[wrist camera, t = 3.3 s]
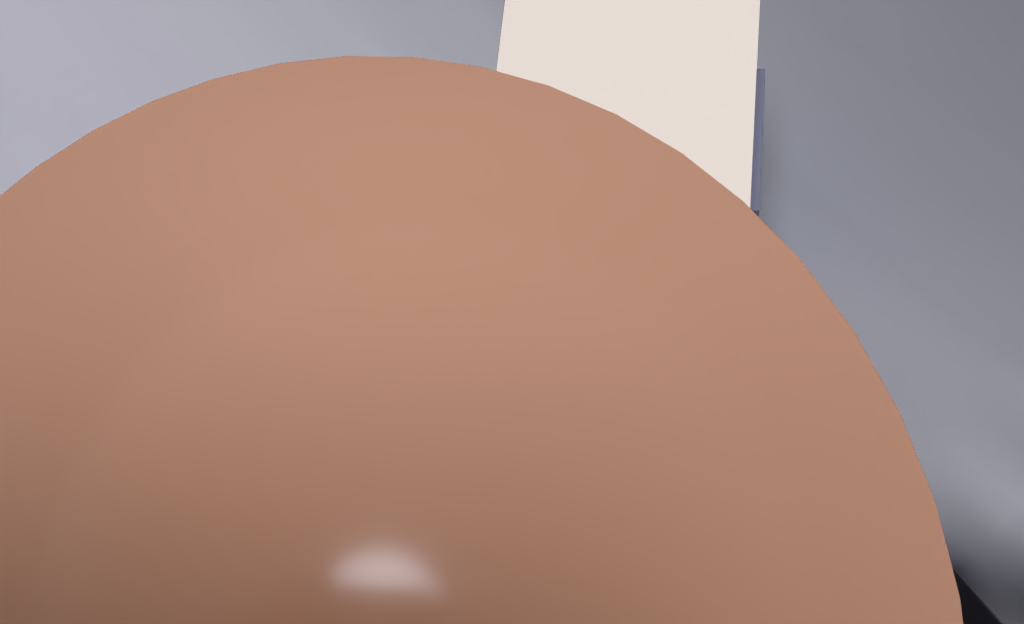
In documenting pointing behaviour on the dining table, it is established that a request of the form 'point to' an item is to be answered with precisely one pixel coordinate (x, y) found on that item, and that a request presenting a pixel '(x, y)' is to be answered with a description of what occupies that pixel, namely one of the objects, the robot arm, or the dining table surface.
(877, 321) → the dining table surface
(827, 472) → the tan tapered rounded cylinder
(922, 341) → the dining table surface
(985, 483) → the dining table surface
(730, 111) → the letter cube
